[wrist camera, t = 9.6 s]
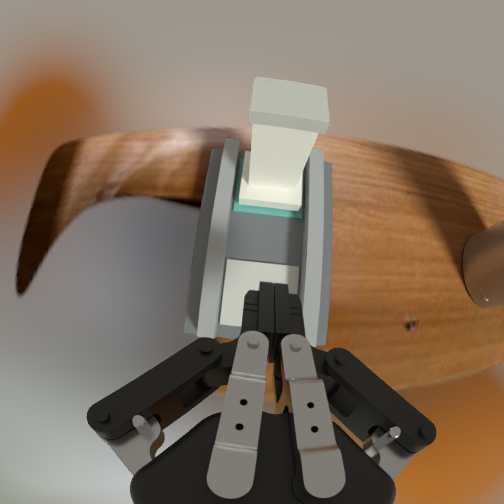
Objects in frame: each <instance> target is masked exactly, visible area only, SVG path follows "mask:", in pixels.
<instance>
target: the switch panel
mask: <svg viewBox="0 0 504 504" xmlns="http://www.w3.org/2000/svg"><path fill="white" fill-rule="evenodd" d="M244 156H245V151H240V139H234V138H226V139H225V144H224V149H215V148H212V152H211V157H210V162H209V167H208V172H207V177H206V182H205V188H204V193H203V199H202V204H201V210H200V216H199V222H198V228H197V234H196V240H195V247H194V255H193V261H192V268H191V275H190V282H189V291H188V298H187V307H186V316H185V325H184V332H185V333H192V334H197V336H198V337H209V338H213V339H214V338H215V337H222V338H230V339H236V338H237V337H238V336H239V335H240V333H241V325H242V315H243V306H244V296H245V295H246V293H247V292H248V291H249V290H257V291H258V290H259V283H260V281H263V282H273V283H284V284H288V289H289V294H297V295H298V297H299V298H300V300H301V303H302V311H303V318H304V327H305V335H306V339H307V340H308V341H309V343H310V345H311V346H313V347H316V345H326V337H327V326H328V314H329V300H330V283H331V262H332V163H329V162H324V159H323V150H319V149H314V148H312V150H311V152H310V155H309V157H308V160H307V162H306V164H305V167H304V169H303V173H302V204H301V207H300V209H299V211H293V210H285V209H277V208H268V207H260V206H251V205H241V204H239V193H240V186H241V178H242V171H243V164H244Z"/></svg>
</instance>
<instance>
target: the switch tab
mask: <svg viewBox="0 0 504 504" xmlns="http://www.w3.org/2000/svg"><path fill="white" fill-rule="evenodd" d="M249 123H251V124H253V130H252V143H251V151H245V156H244V164H243V171H242V178H241V186H240V193H239V204H241V205H251V206H260V207H268V208H277V209H285V210H293V211H299V209H300V207H301V204H302V173H303V169H304V167H305V164H306V162H307V160H308V157H309V155H310V152H311V150H312V148H313V145H314V143H315V140H316V138H317V135H318V133H321V134H325V132H326V129H327V127H328V125H329V110H328V98H327V88H326V87H321V86H316V85H311V84H305V83H300V82H294V81H287V80H280V79H272V78H263V77H255V80H254V86H253V92H252V99H251V105H250V111H249Z"/></svg>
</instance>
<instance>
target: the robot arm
mask: <svg viewBox="0 0 504 504" xmlns="http://www.w3.org/2000/svg"><path fill="white" fill-rule="evenodd" d="M463 275H464V279H465V284H466V287H467V290H468V292H469V294H470V296H471V298H472V299H473V300H474V302H475V303H476V304H478V305H479V306H481V307H484V308H488V307H495V306H502V305H504V221H502V222H500V223H498V224H496V225H493V226H491V227H489V228H487V229H485V230H483V231H481V232H478V233H476V234H474V235H472V236H471V237H470V238H469V239H468V241H467V243H466V245H465V248H464V253H463ZM268 358H269V363H274V370H273V374H272V381H273V393H274V404H275V411H274V414H269V413H266V412H263V411H262V408H263V400H264V391H265V383H266V379H265V374H266V365H267V362H268ZM222 385H228V386H227V390H226V395H225V399H224V404H223V409H222V412H220V413H216V414H213V415H211V416H208V417H207V418H205V419H203V420H202V421H201V422H199V423H198V424H197V425H196V426H195V427H194V428H192V429H191V430H190V431H189V432H187V433H186V434H185V435H184V436H182V437H181V438H180V439H179V440H178V441H176V442H175V443H174V444H172V445H171V446H170V447H168V448H167V449H166V450H165V451H163V452H162V453H161V454H159V455H158V456H157V457H155V454H156V452H157V450H158V449H159V448H160V447H161V446H162V444H163V443H164V440H165V436H164V432H163V429H165V428H166V427H168V426H169V425H170V424H172V423H173V422H175V421H176V420H177V419H179V418H180V417H181V416H183V415H184V414H186V413H187V412H188V411H190V410H191V409H192V408H194V407H195V406H196V405H198V404H199V403H200V402H201V401H203V400H204V399H205V398H207V397H208V396H209V395H210V394H212V393H213V392H214V391H216V390H217V389H218V388H219V387H220V386H222ZM330 412H331V413H332V414H333V415H335V416H336V417H337V418H338V419H339V420H340V421H341V422H342V423H343V424H344V425H345V426H346V427H347V428H348V429H349V430H350V431H351V432H353V433H354V434H355V435H356V436H357V437H358V438H359V439H360V440H361V441H362V442H363V449H362V448H361V447H360V446H359V445H358V444H356V443H355V442H354V441H353V440H352V439H351V438H350V437H349V436H348V435H347V433H346V432H345V431H344V430H342V429H341V427H340V426H338V425H337V424H336V423H335V422H333V421H332V420H331V415H330ZM87 421H88V424H89V425H90V426H91V428H93V430H94V431H95V432H96V433H97V435H98V436H99V437H100V438H101V439H102V440H104V441H105V442H106V443H107V444H108V445H109V446H110V447H111V448H112V449H113V451H114V452H115V453H116V455H117V456H118V457H119V459H120V460H121V461H122V462H123V464H124V465H125V466H126V467H127V468H128V470H129V471H130V472H131V473H132V474H133V476H134V477H133V478H132V481H131V485H130V494H131V498H132V500H133V503H134V504H393V503H394V500H395V496H396V487H395V484H394V481H393V480H394V479H395V478H396V477H397V476H398V474H399V473H400V472H401V471H402V470H403V469H404V467H405V466H406V465H407V463H408V462H409V461H410V460H411V458H412V457H413V456H414V455H415V454H416V453H417V452H419V451H420V450H422V449H424V448H425V447H427V446H428V445H430V444H431V443H432V442H433V441H434V440H435V437H436V428H435V426H434V424H433V423H432V422H431V421H430V420H429V419H427V418H426V417H425V416H424V415H423V414H421V413H420V412H419V411H418V410H417V409H416V408H414V407H413V406H412V405H411V404H410V403H408V402H407V401H406V400H405V399H404V398H403V397H401V396H400V395H399V394H398V393H397V392H396V391H394V390H393V389H392V388H391V387H390V386H388V385H387V384H386V383H385V382H384V381H383V380H381V379H380V378H379V377H378V376H377V375H376V374H374V373H373V372H372V371H371V370H370V369H369V368H368V367H366V366H365V365H364V364H363V363H362V362H361V361H359V360H358V359H357V358H356V357H355V356H354V355H352V354H351V353H350V352H349V351H347V350H346V349H343V348H333V349H331V350H330V351H329V352H325V351H322V350H319V349H316V348H314V347H313V346H311V345H310V343H309V341H308V340H307V339H306V335H305V327H304V318H303V311H302V303H301V300H300V298H299V297H298V295H297V294H289V289H288V284H284V283H273V282H263V281H260V283H259V290H258V291H257V290H249V291H248V292H247V293H246V295H245V296H244V306H243V315H242V325H241V333H240V335H239V336H238V337H237V338H236V339H235V340H233V341H231V342H228V343H221V344H220V343H219V342H218V341H217V340H215V339H213V338H209V337H203V338H199V339H197V340H195V341H194V342H192V343H191V344H189V345H188V346H186V347H185V348H183V349H182V350H180V351H178V352H177V353H175V354H174V355H172V356H171V357H169V358H168V359H166V360H165V361H163V362H161V363H160V364H158V365H157V366H155V367H154V368H152V369H151V370H149V371H147V372H146V373H144V374H143V375H141V376H139V377H138V378H136V379H135V380H133V381H131V382H130V383H128V384H127V385H125V386H123V387H122V388H120V389H119V390H117V391H115V392H113V393H112V394H110V395H108V396H107V397H105V398H103V399H102V400H100V401H98V402H97V403H95V404H93V405H92V406H91V407H90V408H89V410H88V412H87Z"/></svg>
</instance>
